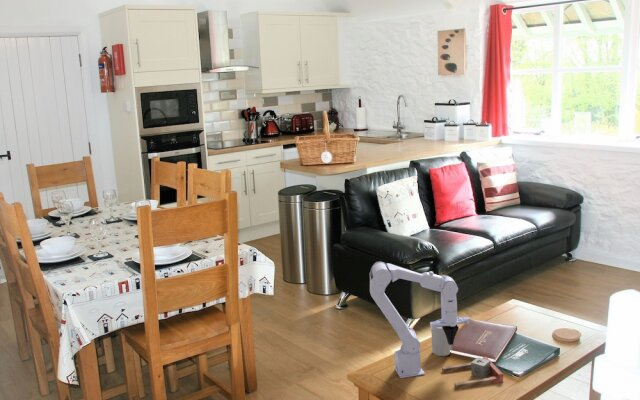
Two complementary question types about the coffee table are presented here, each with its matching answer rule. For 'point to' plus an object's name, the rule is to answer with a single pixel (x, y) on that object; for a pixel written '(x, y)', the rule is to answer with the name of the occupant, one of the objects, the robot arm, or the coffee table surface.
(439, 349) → the can
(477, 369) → the dice cube
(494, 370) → the guide channel
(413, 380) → the coffee table surface
